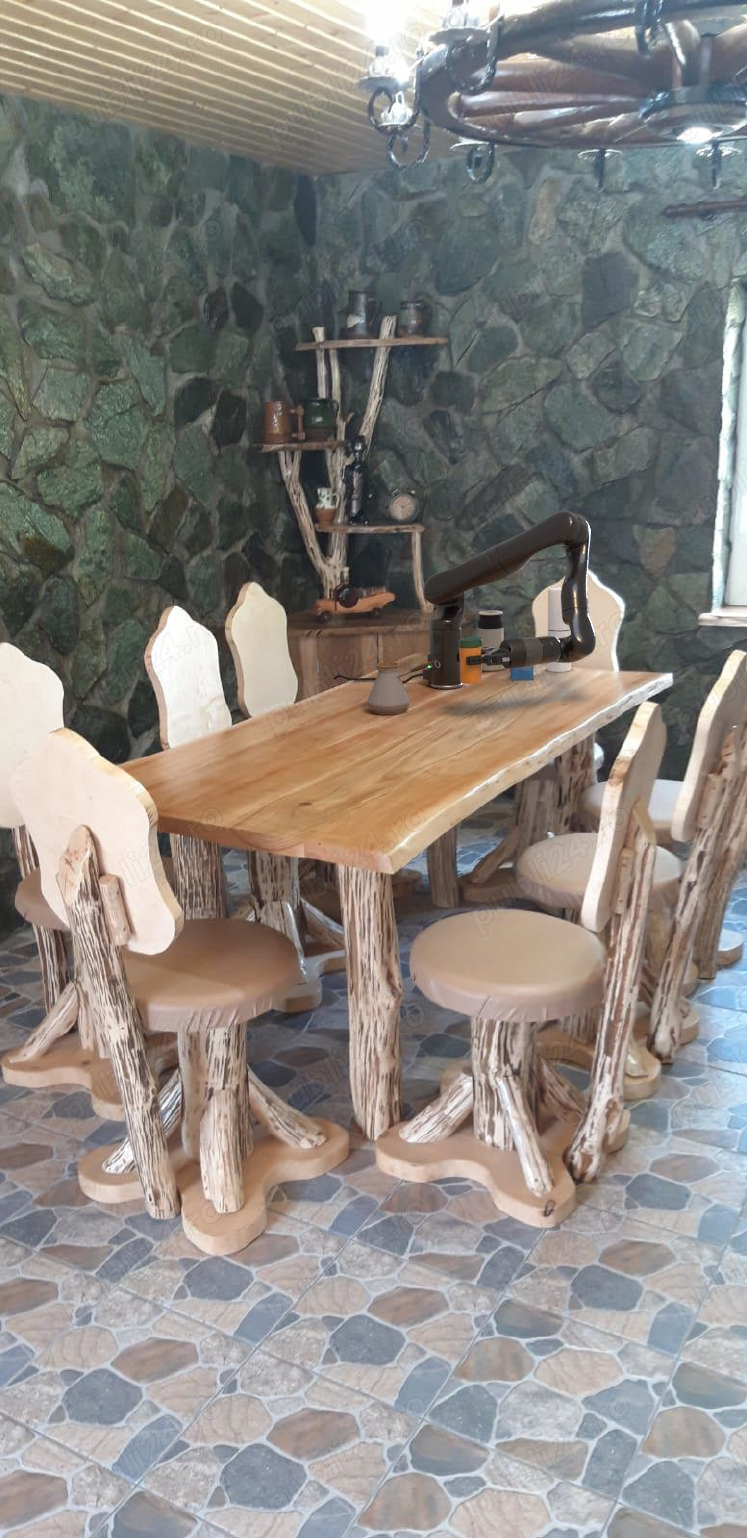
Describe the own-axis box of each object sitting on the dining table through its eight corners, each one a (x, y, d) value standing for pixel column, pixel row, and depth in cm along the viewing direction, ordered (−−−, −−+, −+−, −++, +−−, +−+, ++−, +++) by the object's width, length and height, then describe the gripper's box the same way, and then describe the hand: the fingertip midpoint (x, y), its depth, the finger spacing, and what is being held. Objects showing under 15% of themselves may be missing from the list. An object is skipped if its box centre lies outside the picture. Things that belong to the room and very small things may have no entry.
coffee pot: (359, 713, 313) (357, 658, 309) (382, 705, 322) (381, 651, 318) (428, 721, 302) (427, 663, 298) (450, 713, 311) (450, 656, 307)
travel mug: (486, 672, 366) (485, 614, 361) (473, 668, 373) (473, 611, 368) (508, 669, 369) (508, 612, 364) (495, 666, 376) (495, 609, 371)
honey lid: (454, 647, 296) (454, 639, 296) (465, 643, 301) (464, 636, 301) (475, 648, 293) (475, 641, 293) (485, 644, 298) (485, 637, 298)
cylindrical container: (547, 671, 363) (547, 590, 357) (547, 667, 370) (548, 587, 364) (570, 671, 362) (571, 590, 356) (570, 667, 369) (571, 587, 362)
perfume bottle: (533, 679, 352) (533, 639, 349) (512, 680, 352) (512, 640, 349) (530, 675, 358) (531, 636, 355) (510, 676, 358) (510, 637, 355)
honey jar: (456, 683, 299) (455, 641, 296) (466, 678, 303) (465, 637, 300) (476, 684, 296) (475, 642, 293) (485, 680, 300) (484, 638, 298)
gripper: (508, 634, 308) (449, 640, 303) (534, 641, 295) (473, 648, 290) (508, 662, 310) (450, 669, 305) (534, 671, 297) (473, 678, 292)
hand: (461, 659), depth 297 cm, fingers closed on honey jar, 5 cm apart
